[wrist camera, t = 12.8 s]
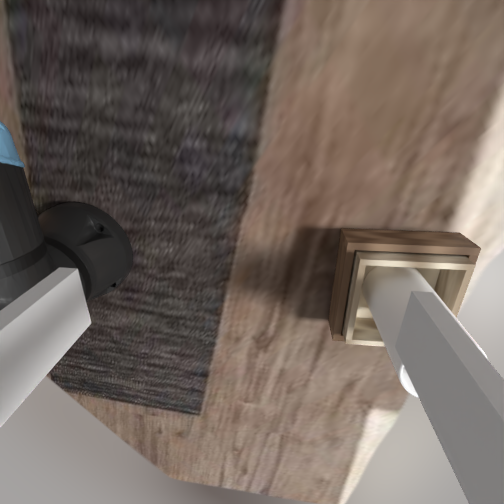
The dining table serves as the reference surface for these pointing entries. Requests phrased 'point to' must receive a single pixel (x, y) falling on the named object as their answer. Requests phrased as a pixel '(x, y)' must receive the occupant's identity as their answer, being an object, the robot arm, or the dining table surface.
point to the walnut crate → (390, 243)
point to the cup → (396, 308)
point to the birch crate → (428, 264)
